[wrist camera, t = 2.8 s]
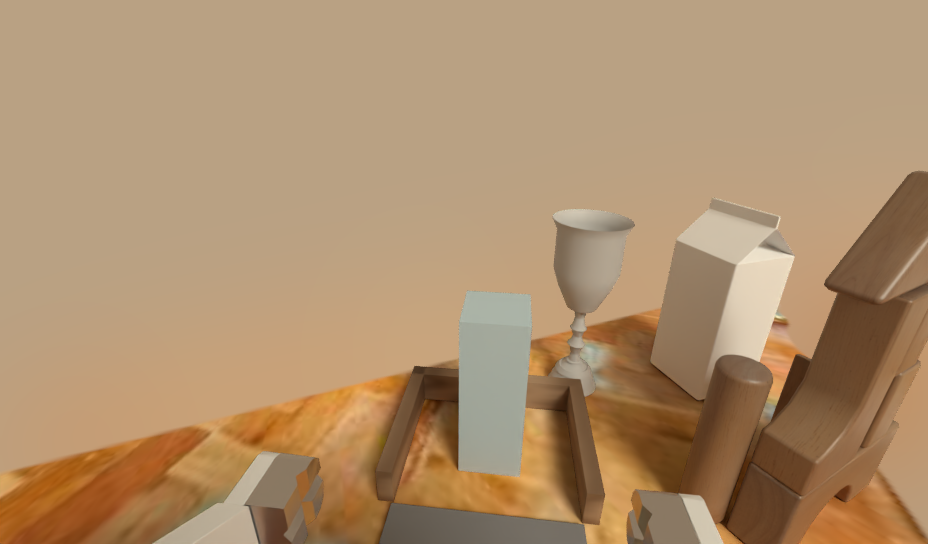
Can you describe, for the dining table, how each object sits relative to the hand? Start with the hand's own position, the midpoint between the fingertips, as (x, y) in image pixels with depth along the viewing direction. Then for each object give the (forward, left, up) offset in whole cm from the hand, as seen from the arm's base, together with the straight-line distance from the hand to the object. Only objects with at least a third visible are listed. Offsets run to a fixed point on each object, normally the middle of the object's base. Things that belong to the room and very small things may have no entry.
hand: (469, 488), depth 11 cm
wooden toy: (+22, +19, -20) cm, 35 cm away
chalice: (+8, +31, -20) cm, 37 cm away
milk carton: (+22, +34, -20) cm, 45 cm away
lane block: (0, +20, -19) cm, 28 cm away
